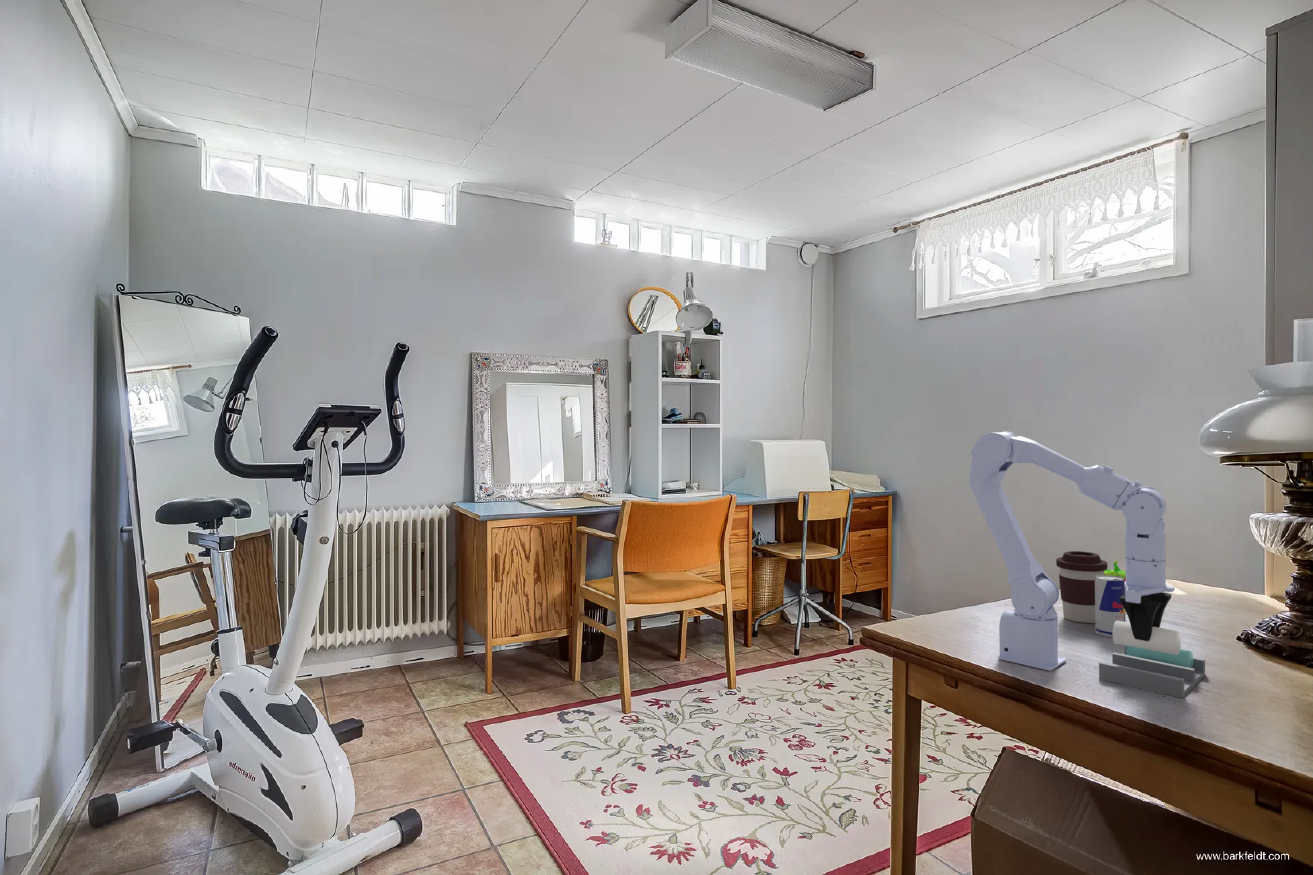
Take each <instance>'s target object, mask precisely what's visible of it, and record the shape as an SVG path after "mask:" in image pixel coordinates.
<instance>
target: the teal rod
mask: <svg viewBox="0 0 1313 875" xmlns="http://www.w3.org/2000/svg"><path fill="white" fill-rule="evenodd" d="M1127 655H1129V656H1134V657H1139V658H1144V659H1149V660H1154V661H1159V662H1164V663H1168V664H1173V665H1178V666H1183V667H1188V668H1193V657H1194V654H1193V651H1192V650H1188V649H1182V648H1180V652H1179V654H1178V655H1173V654H1168V653H1163V652H1158V651H1152V650H1147V649H1142V648H1137V647H1131V646H1127Z"/></svg>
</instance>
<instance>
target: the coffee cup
mask: <svg viewBox="0 0 1313 875" xmlns="http://www.w3.org/2000/svg"><path fill="white" fill-rule="evenodd" d="M1055 563H1056V567H1057V568H1059V574H1058V579H1059V580H1058V581H1059V594H1060V599H1061V601H1062V613H1063V614H1062V615H1063V617H1064V618H1065V619H1067V620H1068V621H1070V622H1071V621H1072V622H1074V623H1078V624H1079V623H1080V624H1095V579H1096V576H1099V575H1104V571H1105V570H1108V561H1106V560H1104V559H1103V560H1102V558H1101V557H1100V555H1099V554H1098V553H1095V552H1091V551H1081V550H1077V551H1076V550H1073V551H1072V550H1069V551H1065V552H1064V553H1063V554H1062V556H1060V557H1057V558H1056V559H1055Z"/></svg>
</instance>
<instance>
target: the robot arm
mask: <svg viewBox="0 0 1313 875" xmlns="http://www.w3.org/2000/svg"><path fill="white" fill-rule="evenodd" d="M970 455H971V463H970V464H971V466H970V473H969V480H968V483H969V486H970V489H971V491H972V493H973V494H974V497H975V499H976V501H977V504H978V506H979V509H980V510H981V513H982V514H983V517H984V519H985V522H986V524H987V526H988V528H989V531H990V533H991V535H992V537H993V539H994V541H995V544H996V546H997V548H998V550H999V553H1000V554H1001V557H1002V559H1003V561H1004V564H1005V566H1006V568H1007V581H1008V584H1009V587H1010V590H1011V591H1010V592H1011V595H1010V599H1011V600H1010V602H1011V604H1012V606H1013V608H1014V610H1010V609H1006V610H1004V611H1003V612H1002V614H1001V616H1000V619H999V626H998V629H999V632H998V633H999V635H998V636H999V637H998V638H999V655H998V656H997V659H998V660H1002V661H1007V662H1009V663H1015V664H1019V665H1022V666H1023V665H1024V666H1028V667H1031V668H1032V667H1033V668H1036V669H1041V670H1045V671H1050V672H1051V671H1052V670H1054V669H1056V668H1057V667H1059V666H1060V665H1062V664H1064V663H1066V662H1067V658H1065V657H1062V656H1059V641H1058V640H1059V637H1058V636H1059V635H1058V634H1059V631H1058V630H1059V629H1058V627H1059V626H1058V622H1059V621H1058V619H1059V618H1058V613H1057V611H1056V609H1055V607H1054V605H1055V604H1056V603H1057V602H1058V600H1059V597H1060V588H1059V587H1058V585H1057V584H1056V582H1055V581H1054V580H1053V579H1051V578H1050V577H1049V576H1048V575H1047V573H1046V571H1045V569H1044V567H1043V566H1042V565H1041V564H1040V563H1039V562H1038V561H1037V560H1036V558H1035V557H1034V556H1035V555H1034V554H1033V552H1032V550H1031V548H1030V546H1029V542H1028V541H1027V539H1026V537H1025V535H1024V532H1023V531H1022V529H1021V526H1020V524H1019V522H1018V519H1017V518H1016V515H1015V513H1014V511H1013V509H1012V506H1011V504H1010V502H1009V500H1008V498H1007V495H1006V494H1005V491H1004V489H1003V487H1002V485H1001V482H1002V480H1003V478H1004V476H1005V475H1006V473H1007V471H1008V469H1009V468H1010V467H1011V466H1012V465H1013V464H1020V463H1021V464H1034V465H1035V466H1038V467H1041V468H1043V469H1045V470H1048V471H1050V472H1052V473H1053V474H1056V475H1059V476H1061V477H1063V478H1065V479H1068V480H1070V481H1072V482H1073V483H1076V485H1077V487H1078V491H1079V493H1080V494H1083V496H1086V497H1088V498H1090V499H1092V500H1094V501H1096V502H1098V503H1101V504H1102V505H1104V506H1106V507H1109V508H1111V509H1113V510H1114V511H1121V512H1122V513H1123V516H1124V517H1125V520H1126V524H1125V525H1126V527H1125V531H1124V535H1125V536H1124V541H1125V542H1124V543H1125V544H1124V545H1125V546H1124V548H1125V549H1124V550H1125V553H1124V554H1125V558H1124V560H1125V561H1124V562H1125V563H1124V564H1125V565H1124V566H1125V571H1126V581H1125V582H1124V586H1125V589H1126V590H1125V596H1124V595H1123V596H1121V597H1120V603H1121V604H1122V606H1123V607H1124V609H1125V614H1126V615H1127V618H1128V620H1129V623H1130V625H1131V629H1132V632H1133V636H1134V638H1135V639H1138V640H1143V641H1149V640H1150V638H1151V634H1152V628H1153V627H1158V628H1161V623H1162V619H1163V615H1164V612H1165V610H1166V607H1167V605H1168V603H1169V602H1170V600H1171V599H1172V594H1171V593H1173V592H1174V591H1175V586H1173V585H1167V580H1166V579H1167V572H1166V571H1167V570H1166V568H1167V567H1166V566H1167V565H1166V564H1167V562H1166V559H1167V558H1166V555H1167V554H1166V532H1165V531H1164V530H1165V527H1166V526H1165V525H1166V524H1165V520H1164V517H1163V516H1164V514H1165V512H1166V510H1167V502H1166V498H1165V497H1164V495H1163V494H1162V493H1160V492H1159V491H1158V490H1156V489H1155V488H1154V487H1151V486H1142V485H1143V483H1142V482H1141V481H1139V480H1135V481H1132V480H1131V479H1129V478H1126V477H1124V476H1122V475H1120V474H1117V473H1116V472H1114V468H1113V467H1112V466H1109V465H1105V466H1104V467H1103V466H1101V465H1099V464H1096V465H1092V466H1090V467H1086V466H1084V465H1083V464H1080V463H1078V462H1076V461H1074V460H1072V459H1070V458H1068V457H1066V456H1065V455H1063V454H1061V453H1059V452H1057V451H1055V450H1053V449H1051V448H1049V447H1047V446H1045V445H1043V444H1041V443H1039V442H1038V441H1035V440H1033V439H1030V438H1027V437H1024V436H1023V435H1022V436H1018V435H1017V434H1016V433H1015V432H1011V431H1007V430H1006V431H1000V432H994V431H993V432H987V433H983V435H981V436H980V437H978V439H977V441H976V443H975V444H974V446H973V447H972V449H971V450H970Z"/></svg>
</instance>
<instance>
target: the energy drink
mask: <svg viewBox="0 0 1313 875" xmlns="http://www.w3.org/2000/svg"><path fill="white" fill-rule="evenodd" d="M1123 595H1124V596H1125V586H1124V579H1123V578H1121V577H1117V576H1109V575H1099V576H1096V579H1095V623H1094V625H1095V626H1094V628H1095V629H1094V630H1095V633H1096V634H1097V635H1098V636H1102V637H1104V638H1105V637H1106V638H1109V639H1111V638H1112V639H1113V635H1112V632H1113V626H1114V623H1115V621H1122V622H1126V611H1125V609H1124V607H1123V606H1122V604H1121V603H1120V597H1121V596H1123Z"/></svg>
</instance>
